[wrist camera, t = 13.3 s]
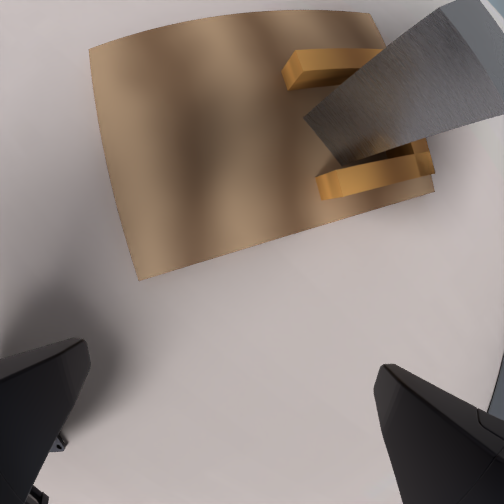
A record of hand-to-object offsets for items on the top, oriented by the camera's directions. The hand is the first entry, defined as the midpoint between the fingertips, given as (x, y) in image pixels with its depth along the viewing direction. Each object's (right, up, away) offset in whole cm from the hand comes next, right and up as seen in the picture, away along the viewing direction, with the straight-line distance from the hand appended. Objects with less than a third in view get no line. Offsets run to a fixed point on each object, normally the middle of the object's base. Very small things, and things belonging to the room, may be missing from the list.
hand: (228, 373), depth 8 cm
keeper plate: (+2, +13, +11) cm, 17 cm away
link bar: (+7, +12, +11) cm, 17 cm away
